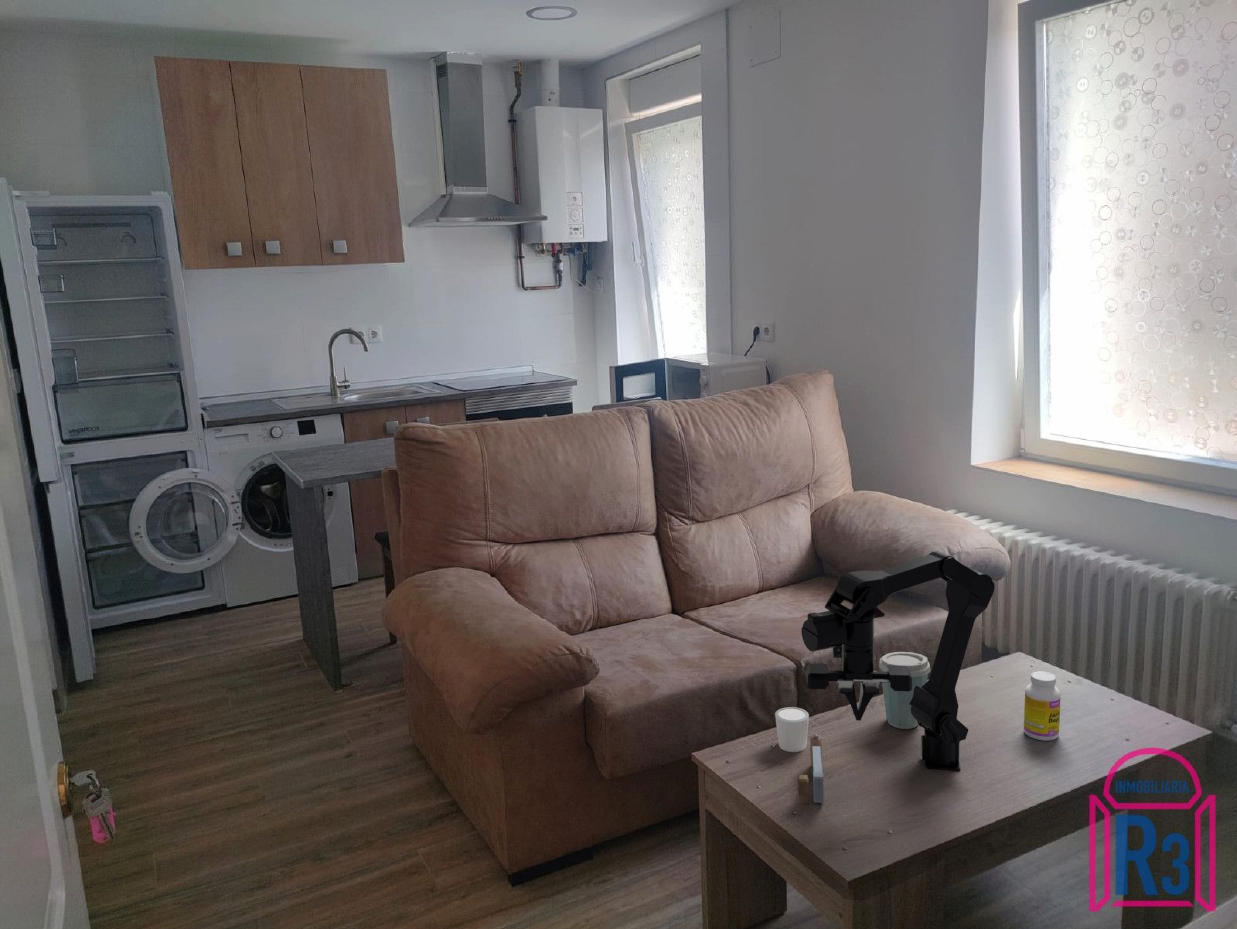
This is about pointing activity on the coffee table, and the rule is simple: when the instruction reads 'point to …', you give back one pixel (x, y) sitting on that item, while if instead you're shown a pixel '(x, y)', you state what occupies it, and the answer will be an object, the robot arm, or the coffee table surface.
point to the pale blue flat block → (817, 768)
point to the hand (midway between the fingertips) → (858, 719)
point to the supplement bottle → (1042, 707)
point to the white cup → (792, 728)
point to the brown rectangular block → (803, 789)
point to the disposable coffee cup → (899, 700)
